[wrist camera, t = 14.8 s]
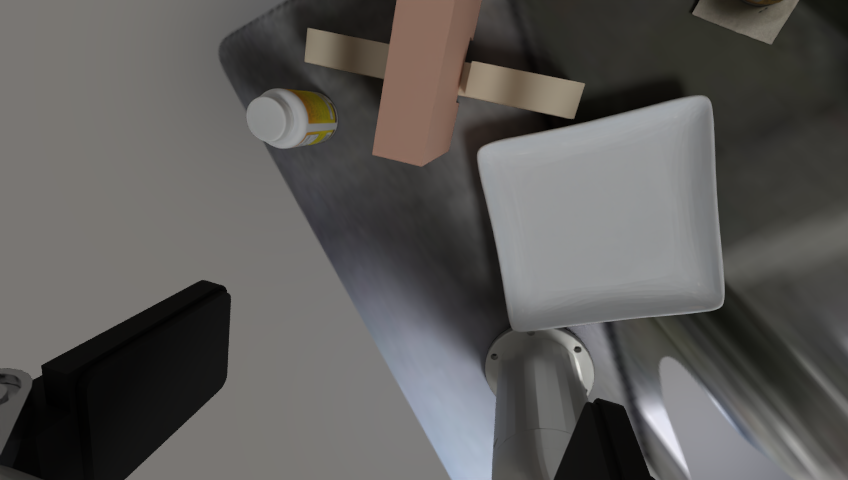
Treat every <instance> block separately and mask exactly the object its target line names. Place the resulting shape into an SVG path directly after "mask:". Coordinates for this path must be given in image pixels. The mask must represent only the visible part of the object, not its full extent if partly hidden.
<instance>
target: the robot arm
mask: <svg viewBox="0 0 848 480" xmlns="http://www.w3.org/2000/svg"><path fill="white" fill-rule="evenodd" d="M230 307H231V296H230V294H229V293H227V290H226V288H225V287H224V286H222V285H219V284H216V283H212V282H209V281H205V280H201V281H199V282H197V283H195V284H193V285H191V286H189V287H187V288H186V289H184V290H182V291H180V292H178V293H176V294H175V295H173V296H171V297H169V298H167V299H165V300H163V301H161V302H159V303H157V304H156V305H154V306H152V307H150V308H148V309H146V310H144V311H143V312H141V313H139V314H137V315H135V316H133V317H131V318H130V319H127V320H126V321H124V322H122V323H120V324H118V325H116V326H114V327H113V328H111V329H109V330H107V331H105V332H103V333H101V334H99V335H98V336H95V337H94V338H92V339H90V340H88V341H86V342H84V343H82V344H80V345H79V346H77V347H75V348H73V349H71V350H69V351H67V352H65V353H64V354H62V355H60V356H58V357H56V358H54V359H52V360H51V361H49V362H47V363H45V364H43V365H42V366H41V368H42V376H40V377H38V378H36V379H34V380H32V378H31V376H30V375H29V374H28V373H26V372H23V371H22V370H16V369H10V368H3V369H0V480H124V479H126V478H127V477H128V476H129V475H130V474H131V473H132V472H133V471H134V470H135V469H136V468H137V467H138V466H139V465H140V464H142V463H143V462H144V461H145V460H146V459H147V458H148V457H149V456H150V455H151V454H152V453H153V452H154V451H155V450H157V449H158V448H159V447H160V446H161V445H162V444H163V443H164V442H165V441H166V440H167V439H168V438H169V437H170V436H171V435H172V434H173V433H175V432H176V431H177V430H178V429H179V428H180V427H181V426H182V425H183V424H184V423H185V422H186V421H187V420H188V419H189V418H191V417H192V416H193V415H194V414H195V413H196V412H197V411H198V410H199V409H200V408H201V407H202V406H203V405H204V404H205V403H206V402H207V401H209V400H210V398H212V397H213V396H214V395H215V394H216V393H217V392H218V391H219V390H220V389H221V388H222V387H223V385H224V383H225V381H226V378H227V367H228V346H229V327H230V326H229V325H230ZM576 346H578V347H576ZM485 374H486V379H487V382H488V384H489V387H490V389H491V390H492V392H493V393H494V395H495V396H496V409H495V426H494V443H493V460H492V480H655V479H654V478H653V477H651V476H650V473H649V471H648V468H647V465H646V463H645V460H644V457H643V455H642V452H641V450H640V447H639V444H638V442H637V439H636V436H635V434H634V431H633V429H632V426H631V423H630V421H629V418H628V415H627V413H626V410H625V408H624V406H622V405H619V404H616V403H613V402H609V401H606V400H603V399H599V398H597V399H595V400H594V402H593V403H591V402H589V401H588V395H589V394H590V392H591V390H592V387H593V384H594V379H595V369H594V365H593V361H592V358H591V356H590V353H589V351H588V349H587V348H586V346H585V345H584V343H583V342H582V341H581V340H580V339H579V338H578V337H577V336H575V335H574V334H572V333H571V332H570V331H568V330H566V329H564V328H562V327H561V328H554V329H546V330H539V331H530V332H516V331H514V330H513V329H512V328H509V329H507V330H506V331H505V332H503V333H502V334H500V335H499V336H498V337H497V338H496V339H495V340H494V342H493V343H492V345H491V346H490V348H489V350H488V353H487V356H486V363H485Z"/></svg>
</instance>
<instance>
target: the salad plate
mask: <svg viewBox="0 0 848 480" xmlns="http://www.w3.org/2000/svg"><path fill="white" fill-rule="evenodd" d="M477 164H478V170H479V175H480V179H481V183H482V188H483V192H484V196H485V200H486V204H487V208H488V212H489V217H490V221H491V225H492V230H493V234H494V239H495V244H496V249H497V254H498V259H499V265H500V271H501V276H502V282H503V289H504V295H505V301H506V307H507V312H508V317H509V322H510V325H511V328H512V329H513V330H514V331H516V332H530V331H539V330H546V329H554V328H561V327H569V326H576V325H584V324H592V323H600V322H608V321H617V320H625V319H634V318H643V317H656V316H668V315H678V314H689V313H697V312H705V311H711V310H716V309H718V308H720V307H721V306H722V305H723V303H724V291H725V290H724V271H723V260H722V249H721V238H720V228H719V217H718V205H717V189H716V169H715V143H714V120H713V110H712V105H711V102H710V100H709V99H708V98H707V97H706V96H703V95H693V96H687V97H682V98H678V99H673V100H669V101H665V102H661V103H658V104H654V105H650V106H646V107H643V108H639V109H635V110H631V111H627V112H624V113H620V114H616V115H612V116H608V117H604V118H600V119H596V120H592V121H588V122H584V123H579V124H575V125H570V126H566V127H561V128H557V129H551V130H547V131H542V132H537V133H532V134H527V135H521V136H516V137H511V138H506V139H502V140H498V141H494V142H491V143H488V144H486V145H484V146H482V147H481V148H479V150H478V152H477Z"/></svg>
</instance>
